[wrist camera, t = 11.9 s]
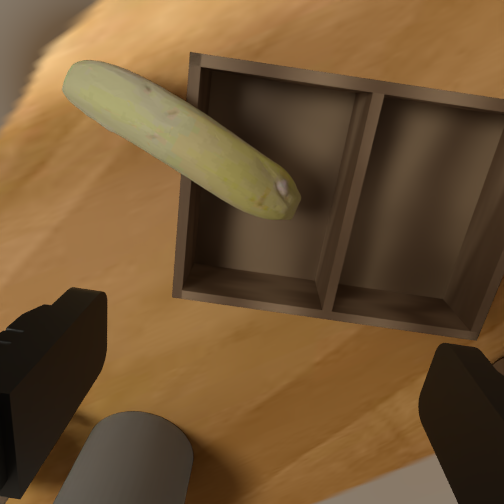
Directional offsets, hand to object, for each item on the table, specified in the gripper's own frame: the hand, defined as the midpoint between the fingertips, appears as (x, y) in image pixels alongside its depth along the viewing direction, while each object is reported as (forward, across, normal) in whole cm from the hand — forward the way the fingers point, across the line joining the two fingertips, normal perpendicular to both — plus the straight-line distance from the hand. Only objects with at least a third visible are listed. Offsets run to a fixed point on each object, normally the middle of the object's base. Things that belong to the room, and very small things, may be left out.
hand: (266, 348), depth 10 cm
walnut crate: (+19, -5, 0) cm, 20 cm away
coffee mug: (+20, +9, +28) cm, 35 cm away
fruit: (+15, -2, 0) cm, 16 cm away
